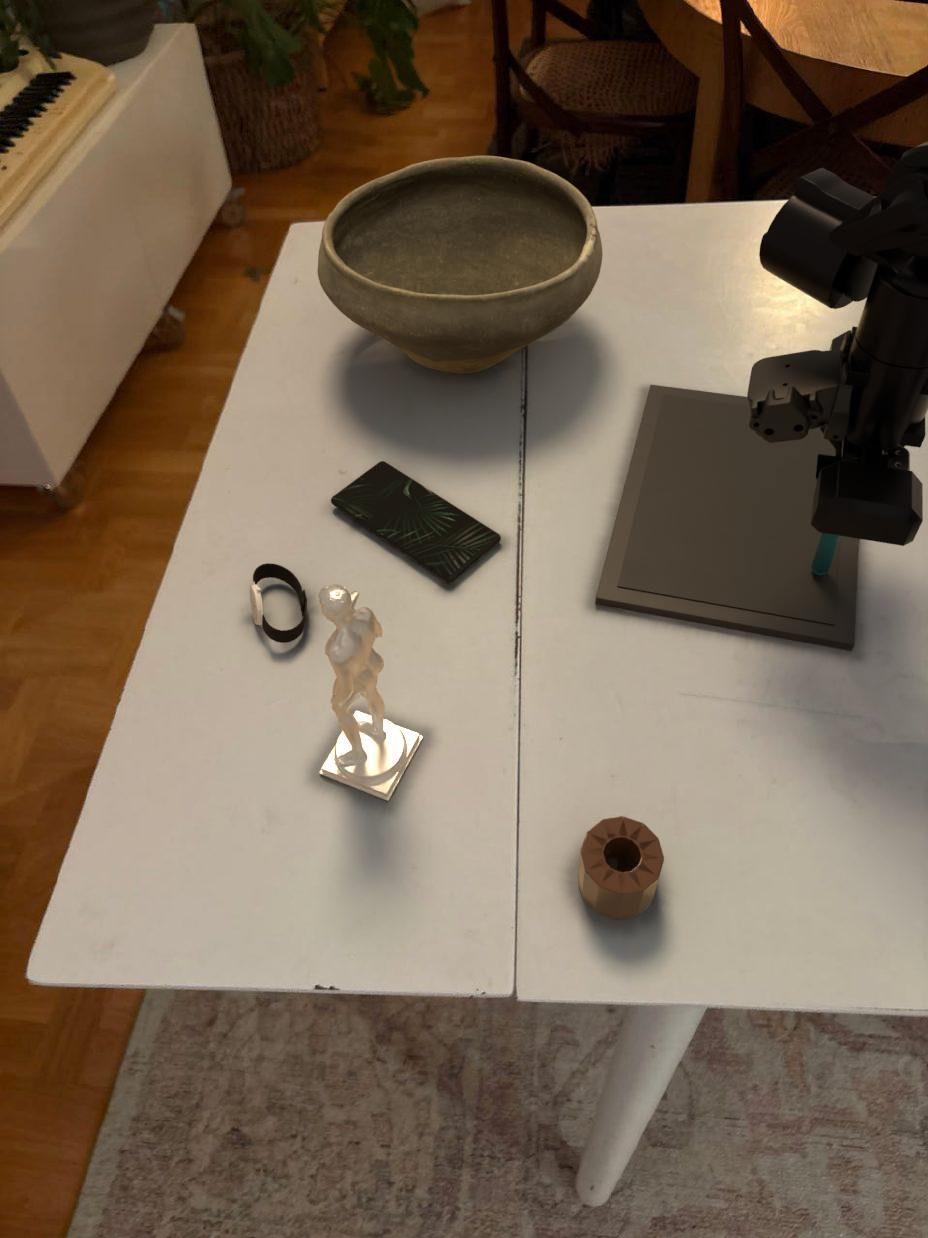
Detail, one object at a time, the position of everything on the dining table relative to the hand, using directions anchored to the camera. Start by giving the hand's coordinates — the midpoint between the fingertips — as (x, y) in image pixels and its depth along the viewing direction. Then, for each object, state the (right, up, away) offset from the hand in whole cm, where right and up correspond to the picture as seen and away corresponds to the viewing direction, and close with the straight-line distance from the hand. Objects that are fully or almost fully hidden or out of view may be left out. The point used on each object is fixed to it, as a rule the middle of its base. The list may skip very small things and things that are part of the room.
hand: (837, 516), depth 69 cm
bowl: (-28, +22, +29) cm, 46 cm away
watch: (-43, -7, +7) cm, 45 cm away
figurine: (-35, -17, -1) cm, 39 cm away
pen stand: (-18, -25, -9) cm, 32 cm away
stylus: (+1, -4, +5) cm, 7 cm away
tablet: (-4, +2, +12) cm, 13 cm away
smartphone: (-33, +1, +13) cm, 35 cm away
